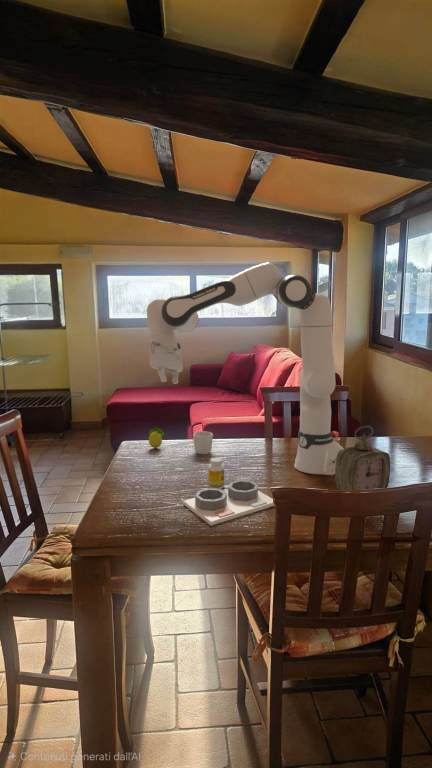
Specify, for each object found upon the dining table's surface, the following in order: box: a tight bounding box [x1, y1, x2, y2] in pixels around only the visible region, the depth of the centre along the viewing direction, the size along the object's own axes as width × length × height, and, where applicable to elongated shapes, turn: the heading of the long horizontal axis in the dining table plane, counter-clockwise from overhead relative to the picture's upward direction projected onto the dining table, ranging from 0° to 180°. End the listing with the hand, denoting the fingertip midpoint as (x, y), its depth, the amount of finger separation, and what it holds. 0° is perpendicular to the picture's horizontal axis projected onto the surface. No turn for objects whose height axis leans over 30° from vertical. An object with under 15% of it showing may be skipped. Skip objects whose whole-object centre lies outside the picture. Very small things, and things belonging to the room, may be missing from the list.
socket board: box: [182, 479, 274, 526], centre depth 143 cm, size 24×16×4 cm, turn 123°
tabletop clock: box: [334, 425, 391, 491], centre depth 142 cm, size 14×9×25 cm, turn 114°
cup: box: [192, 430, 214, 455], centre depth 192 cm, size 11×8×8 cm
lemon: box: [148, 427, 164, 450], centre depth 195 cm, size 7×6×10 cm
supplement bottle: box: [208, 457, 225, 490], centre depth 156 cm, size 5×5×10 cm
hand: (169, 382), depth 164 cm, fingers open, 8 cm apart
